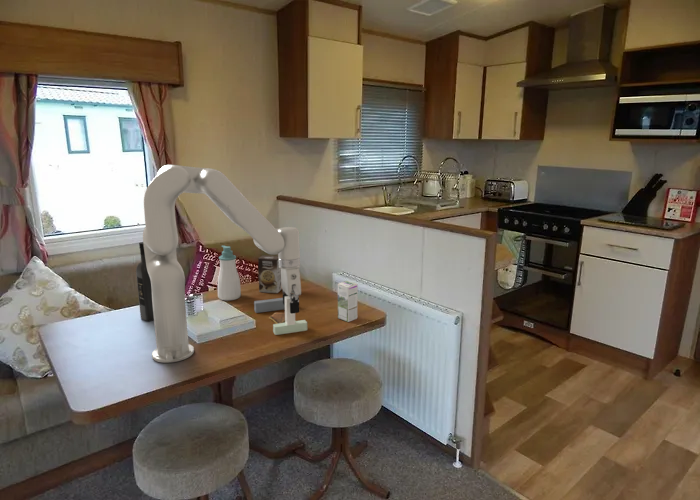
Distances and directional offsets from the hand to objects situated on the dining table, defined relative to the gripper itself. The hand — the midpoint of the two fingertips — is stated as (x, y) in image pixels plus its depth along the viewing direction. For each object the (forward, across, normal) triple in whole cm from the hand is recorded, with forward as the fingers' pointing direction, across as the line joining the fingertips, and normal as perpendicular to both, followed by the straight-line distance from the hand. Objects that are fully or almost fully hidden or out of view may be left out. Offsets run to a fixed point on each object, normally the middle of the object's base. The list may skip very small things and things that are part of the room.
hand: (291, 308), depth 163 cm
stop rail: (+9, +24, +1) cm, 25 cm away
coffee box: (+9, +48, -3) cm, 49 cm away
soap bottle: (+9, +45, +16) cm, 49 cm away
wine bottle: (+8, +31, +48) cm, 58 cm away
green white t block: (+9, 0, +1) cm, 9 cm away
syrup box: (+9, +3, -23) cm, 25 cm away
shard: (+9, +11, 0) cm, 15 cm away
